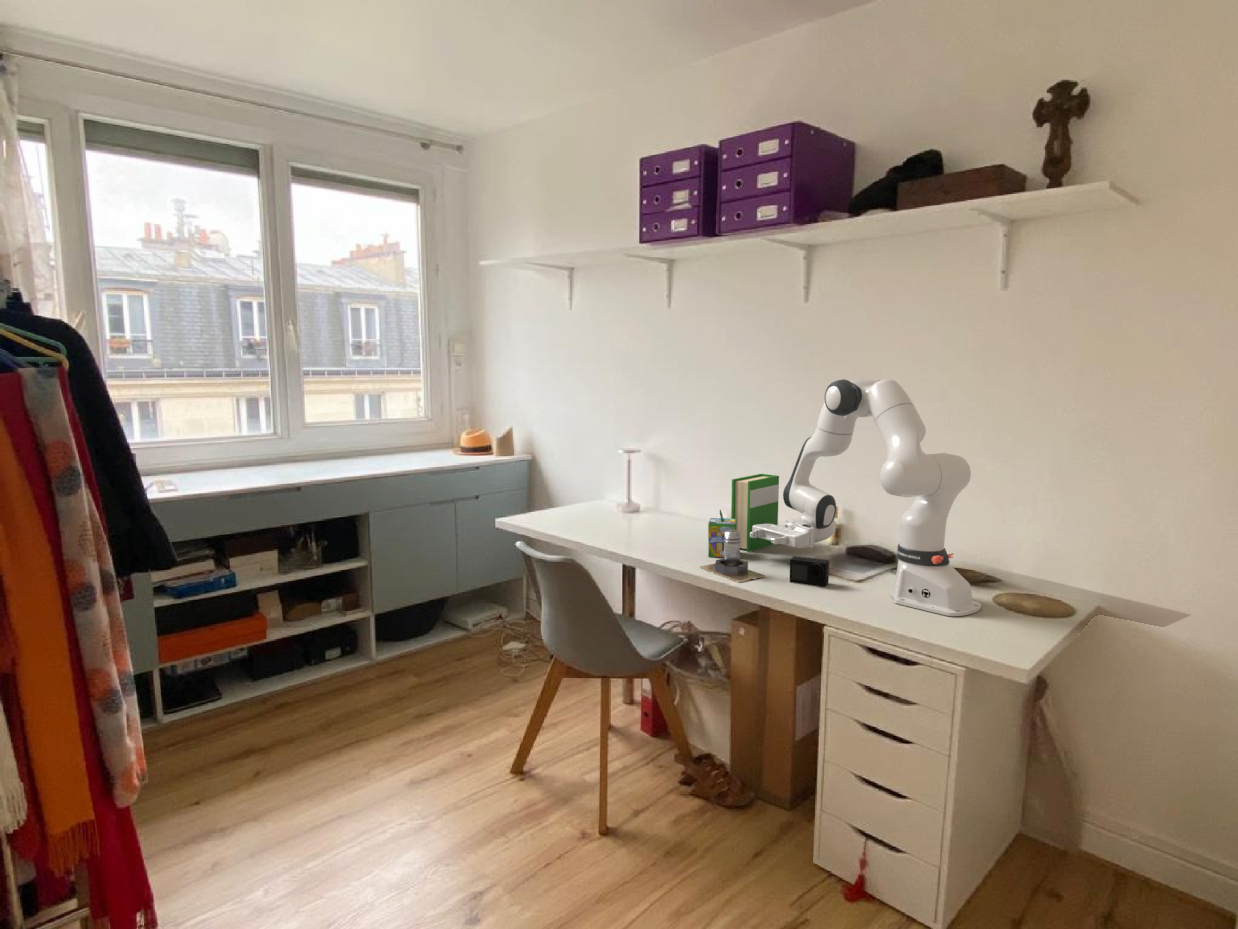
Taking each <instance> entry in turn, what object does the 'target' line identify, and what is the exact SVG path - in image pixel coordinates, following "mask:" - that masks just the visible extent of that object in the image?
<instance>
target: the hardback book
mask: <svg viewBox="0 0 1238 929" xmlns="http://www.w3.org/2000/svg"><path fill="white" fill-rule="evenodd" d="M779 488H780V475H775V474H767V473H757V474H752V475H748V476H741V477H737V478H731V509H730V510H731V511H730V513H731V514H730V516H731V517H730V519H737V531H740V537H741V538H740V549H744V550H746V553H750V551H751V552H753V551H757V550H760V549H763V548H767V547H769V545H770V546H773V545H772V543H771V541H769V540H766V539H762V538H758V537H757V538H751V537H750V532H752V527H753V525H757V524H774V525H778V526H779V492H780V491H779ZM759 548H760V549H759Z"/></svg>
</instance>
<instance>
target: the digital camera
mask: <svg viewBox="0 0 1238 929" xmlns="http://www.w3.org/2000/svg"><path fill="white" fill-rule="evenodd" d="M829 573H830V560H829V559H823V558H822V559H820V558H815V557H814V558H812V557H804V556H797V555H796V556H795V555H793V556H792V557H791V558H790V560H789V583H792V582H794V583H793V584H799V585H807V586H814V587H822V588H825V587H827V586H828V584H829V580H830V579H829V577H830V576H829Z"/></svg>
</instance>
